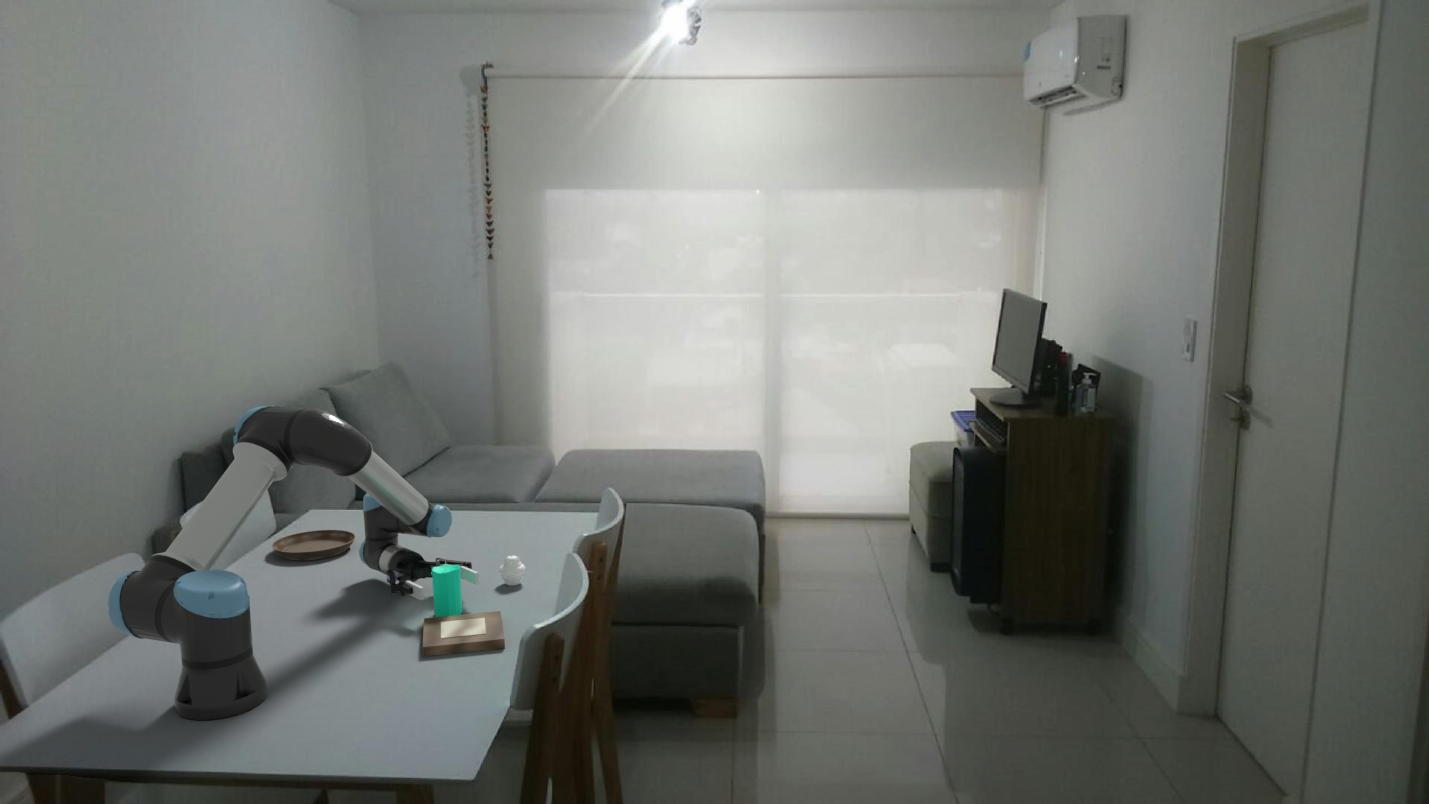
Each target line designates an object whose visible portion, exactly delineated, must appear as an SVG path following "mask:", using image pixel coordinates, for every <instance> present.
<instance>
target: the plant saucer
mask: <svg viewBox="0 0 1429 804" xmlns="http://www.w3.org/2000/svg"><path fill="white" fill-rule="evenodd" d="M355 539H356V535H355V533H353V532H351V531H348V530H340V529H319V530H318V529H317V530H310V531H308V530H307V531H304V532H298V533H293V534H290V535H286V536H283V537H280V538H278V539H277V540H275V541H274V542H273V543H272V544H271V548H272V550H274V551H275V553H276V554H277V555H278V556H280V557H282V558H284V559H287V560H290V561H291V560H292V561H315V560H323V559H327V558H332V557H334V556H337V555H340V554H342V553H344V552H345V551H347V550H348V549H349V548H350V547H351V546H352V544H353V543H354V541H355Z"/></svg>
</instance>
